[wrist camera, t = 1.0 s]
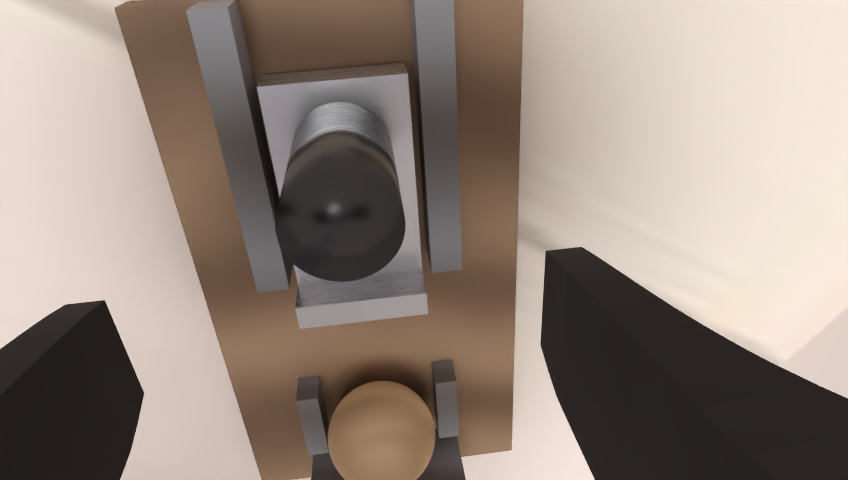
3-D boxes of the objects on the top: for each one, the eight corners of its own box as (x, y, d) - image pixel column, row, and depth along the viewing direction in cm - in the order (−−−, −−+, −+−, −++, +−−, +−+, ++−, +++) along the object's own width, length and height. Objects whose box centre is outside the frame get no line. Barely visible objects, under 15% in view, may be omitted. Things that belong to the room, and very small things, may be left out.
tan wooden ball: (431, 424, 25) (444, 509, 21) (336, 436, 24) (334, 525, 21) (425, 352, 23) (439, 434, 19) (322, 365, 22) (317, 450, 19)
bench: (506, 432, 27) (532, 521, 23) (265, 464, 26) (251, 561, 22) (514, -29, 17) (564, -7, 13) (127, 2, 16) (57, 34, 12)
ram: (419, 271, 20) (442, 390, 15) (304, 284, 20) (290, 409, 15) (404, 62, 17) (427, 131, 12) (262, 74, 16) (226, 151, 12)
